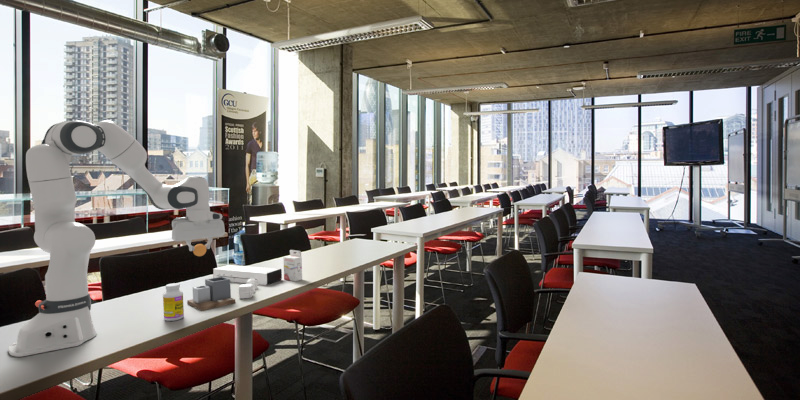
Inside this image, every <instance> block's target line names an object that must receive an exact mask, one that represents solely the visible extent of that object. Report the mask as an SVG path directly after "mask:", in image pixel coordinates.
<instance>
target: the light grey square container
mask: <svg viewBox="0 0 800 400" xmlns="http://www.w3.org/2000/svg"><path fill="white" fill-rule="evenodd" d="M192 299H193V302H195V303H197V304H201V303H205V302H210V301H211V300H210V287H209V286H206V285H205V284H202V285H198V286H193V287H192Z"/></svg>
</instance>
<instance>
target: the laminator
mask: <svg viewBox="0 0 800 400" xmlns="http://www.w3.org/2000/svg"><path fill="white" fill-rule="evenodd" d="M282 271H283V270H282V268H277V267H264V266H263V267H261V266H249V265H237V264H236V265H235V264H226V265H222V266H219V267H218V266H217V267H215V268H212V272H213V273H212V275H213V276H212V278H216V277H225V278H229V279H230V283H238V284H246V283H247V281H248V280H249V279H250V278H253V279H255V280H256V281H257V285H261V286H268V285H271V284H273V283H276V282H280V281H281V280H282V279H283V277H282V276H283V275H282V273H283V272H282Z"/></svg>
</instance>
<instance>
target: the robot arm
mask: <svg viewBox="0 0 800 400" xmlns="http://www.w3.org/2000/svg"><path fill="white" fill-rule="evenodd" d="M94 151H98V152H99V153H101V154H102V155H104V157H106V159H108V160H109V161H110V162H111V163H112V164H114V165H115V166H116V167H118V168H119V169H120V170H122V171H123V172H124V173H125V174H126V175H127V176H128V177H129V178H130V179H131V180H132V181H133V182H134V183H136V184H137V185H138V186H139V188H141V189H142V190H143V191H144V192H145V193H146V195H147V196H148V197H147V198H148V199H149V201H150V203H151V204H152V206H153V207H154V208H156V209H158V210H163V211H167V210H183V209H186V210H185V211H186V212H185V213H186V214H185V216H183V217H176V218H173V220H171V228H172V230H171V239H172V240H173V242H183V241H184V242H185V243H186V245H187V246H188V250H189V252H193V251H194V250H195V249H194V246H195V245H192V244H191V243H192V241H193V240H194V241H195V240H201V239H206V240H207V242H206V243H205V244H204V246H205V247H206V250H210V248H211V244H212V242H213V238H219V237H220V238H221V237H224V236H225V234H226V231H225V230H226V229H225V223H224V221H223V220H222V219H223V214H221V213H220V212H219V213H217V212H215V211H211V208H210V207H211V206H210V204H209V203H210V202H209V200H210V188H209V182H208V180H207V179H206V178H205V177H202V176H199V175H198V176H196V175H195V176H194V175H189V176H186V178H184V179H183V180H181V181H180V182H177V183H174V184H166V183H163V182H161V181H160V180H158V179H157V178H156V177H155V175H154V174H153V173H152V172H150V171H149V170H148V168H147V167H146V163H147V158H148V153H147V150H146V149H145V148H144V146H143V144H141V143H140V142H139V141H138V139H136V138H135V137H134V136H132V134H130V133H129V132H128V131H126V130H125V129H124V128H123V127H121V126H120V125H118V124H117V123H115V122H113V121H112V120H101V121H98V122H96V123H95V124H94V123H90V122H88V121H83V120H65V121H61V122H58V123H54V124H53V125H51V126H50V127H49V128H48V129H47V131H46V132H45V134H44V136H43V140H42V141H41V143H39V144H36V145H34V146H32V147H30V148H29V149H27V151H26V153H25V169H26V177H27V180H28V181H27V182H28V186H29V189H30V193H31V198H32V199H31V200H32V203H33V209H34V234H33V240H34V243H35V244H36V245H37V246H38V248H39V249H41V250H42V251H43V252H46V253H48V254H49V263H48V268H47V271H46V273H45V275H44V282H45V295H46V296H45V297H46V298H45V299H44V300H40V299H39V300H37V301H36V302H35V303H34V305H35V306H36V308H38V313H37V314H36V315H35V316H33V317H32V318H31V319H30V320H28V321H27V322H26V323H24V324H23V325H22V326H21V327H20V329H19V330H18V334H17V338H16V342H13V343H12V344H10V345H9V346H8V348H7V349H8V350H7V351H8V354H9V355H10V356H12V357H18V358H20V357H26V356H31V355H32V356H33V355H36V354H41V353H47V352H53V351H56V350H57V351H58V350H63V349H67V348H73V347H79V346H80V345H82V344H83V343H85V342H86V341H89V340H91V339H93V338H95V337H96V336H97V331H96V329H95V327H94V322H93V319H92V314H91V308H92V300H91V294H90V293H89V283H88V279H89V278H88V269H89V267H88V266H89V262H90V255H91V252H92V249H93V248H94V246H95V243H96V236H95V233H94V231H93V230H92V229H91V228H90V227H89V226H86V225H85V224H83V223H80V222H78V221H77V222H76V218H75V217H76V216H75V215H76V214H75V211H76V209H75V208H76V204H77V201H78V199H77V194H76V189H75V185H74V181H73V177H72V173H71V169H70V162H71V159H72V157H73V156H81V155H86V154H89V153H92V152H94Z"/></svg>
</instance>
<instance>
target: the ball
mask: <svg viewBox="0 0 800 400" xmlns="http://www.w3.org/2000/svg"><path fill="white" fill-rule="evenodd" d="M193 246H194V249H195V250H194V251H192V253H193V255H194V256H197V257H202V256H204V255H205V254H206V252H207V249H206V247H205V244H203V243H197V244H196V245H193Z"/></svg>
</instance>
